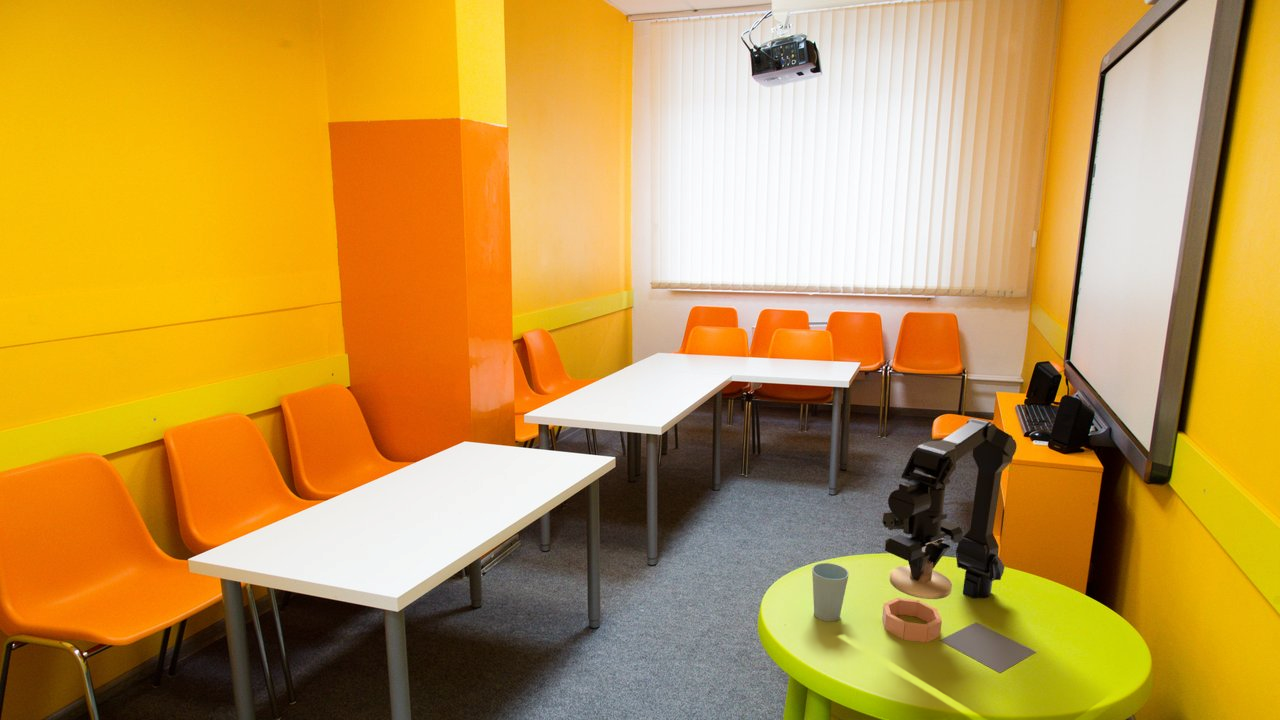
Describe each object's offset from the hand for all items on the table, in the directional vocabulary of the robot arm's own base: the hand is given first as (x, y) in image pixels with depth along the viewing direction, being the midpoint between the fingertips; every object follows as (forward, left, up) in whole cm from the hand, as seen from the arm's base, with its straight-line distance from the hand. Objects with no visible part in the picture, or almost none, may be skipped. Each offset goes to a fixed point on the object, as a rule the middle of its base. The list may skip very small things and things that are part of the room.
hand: (920, 577), depth 154 cm
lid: (0, 0, -2) cm, 2 cm away
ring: (0, -1, -13) cm, 13 cm away
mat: (-7, +12, -13) cm, 19 cm away
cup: (+10, -15, -13) cm, 22 cm away
